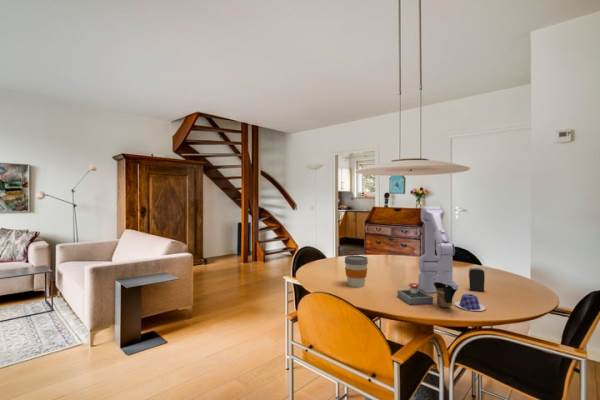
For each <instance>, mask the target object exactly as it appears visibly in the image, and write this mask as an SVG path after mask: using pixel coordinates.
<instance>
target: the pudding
mask: <svg viewBox="0 0 600 400" xmlns="http://www.w3.org/2000/svg"><path fill="white" fill-rule="evenodd" d="M454 305H455V306H456V307H457V308H460V309H463V310H466V311H472V312H481V311H485V310H486V307H485V305H484V304H480V302H479V299H478V296H477V295H475V294H471V293H463V294H462V295H461V298H460V300H458V301H456V302H454ZM468 309H469V310H468Z"/></svg>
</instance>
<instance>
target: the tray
mask: <svg viewBox="0 0 600 400" xmlns="http://www.w3.org/2000/svg"><path fill="white" fill-rule="evenodd" d="M396 293H397V298H398V299H400V300H402V301H403V302H405V303H406V304H408V305H409V306H419V305H433V303H434V300H433V299H434V297H433V296H431V295H430V294H428V293H426V292H425V291H423V290H421V289H419V288H418V297H415V298H411V297H410V289H399V290H397V292H396Z"/></svg>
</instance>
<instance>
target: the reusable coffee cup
mask: <svg viewBox="0 0 600 400" xmlns="http://www.w3.org/2000/svg"><path fill="white" fill-rule="evenodd" d="M368 263H369V261H368V257H367V256H364V255H346V256H345V257H344V264H345V268H344V269H345V276H346V279H347V285H348V286H350V287H351V288H362V287H364V286H365V283H366V277H367V273H368Z"/></svg>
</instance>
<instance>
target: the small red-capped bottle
mask: <svg viewBox="0 0 600 400" xmlns="http://www.w3.org/2000/svg"><path fill="white" fill-rule="evenodd" d="M408 286H409V287H410V289H409V290H410V297H411V298H415V297H418V289H419V288H418V287H419V283H415V282H410V283H409V284H408Z"/></svg>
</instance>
